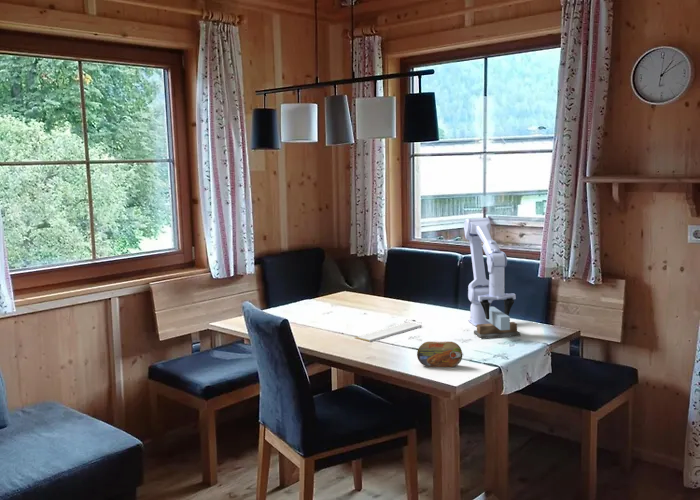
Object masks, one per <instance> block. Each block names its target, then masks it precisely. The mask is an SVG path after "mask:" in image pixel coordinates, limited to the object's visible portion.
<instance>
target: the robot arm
mask: <svg viewBox="0 0 700 500" xmlns="http://www.w3.org/2000/svg"><path fill="white" fill-rule="evenodd" d="M491 224H492V222H491V219H490V218H489V217H487V216H486V217H480V218H479V217H478V218H477V217H476V218H468V217H467V218H466V219H465V220H464V222H463V231H464V237H465V240H467V241H469V248H470V255H471V257H470V258H471V263H472V264H471V265H472V272H473V280H472V281H471V282H470V283H469V284H468V286H467V287H468V288H467V290H468V291H467V298H468V300H469V301H470V303H471V304H470V310H469V311H470V319H468V322H469V323H470V324H472V325H473V326H474V327H477V324H491V323H490V322H488V321H487V320H485V317H486V319H489V308H490V307H491V304H492V303H493V301H501V300H503V304H504V305H503V307H504V308H503V309H504V310H503V311H504V312H503V313H505V314H506V315H508V316H509V315H510V312H511V308H512V306H513V305H514V304H515V300H516V295H517V294H515V293H512V292H511V293H505V268H506V267H507V264H508V257H507V255H506V253H505V252H504V251H502V250H501V249H500V247H499V245H498V243H497V241H496V240H494V239H493V238H492V236H491V235H492V234H491V229H492V228H491V227H492V226H491ZM482 243H483V244H482ZM484 254H485V256H486V264H487V272H488V274H489V275H488V276H489V277H488V278H489V279H487V276H486V268H485V262H484V261H485V260H484ZM509 317H510V316H509Z"/></svg>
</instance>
